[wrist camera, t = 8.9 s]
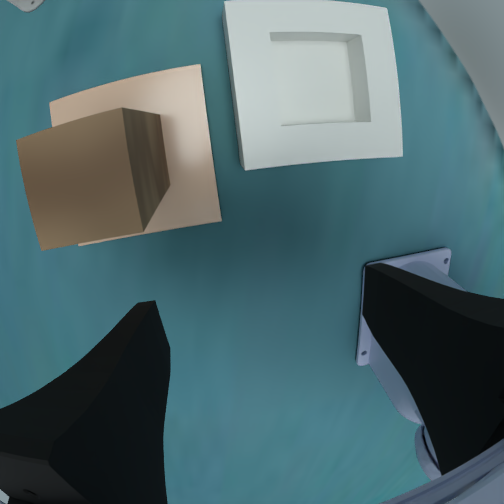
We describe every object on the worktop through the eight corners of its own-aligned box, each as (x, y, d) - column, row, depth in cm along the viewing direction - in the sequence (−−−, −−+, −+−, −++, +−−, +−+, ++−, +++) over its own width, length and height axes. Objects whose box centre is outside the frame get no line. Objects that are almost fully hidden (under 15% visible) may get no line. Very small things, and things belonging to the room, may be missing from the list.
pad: (221, 218, 19) (221, 221, 18) (82, 242, 18) (78, 246, 18) (200, 65, 15) (200, 64, 15) (53, 102, 15) (49, 102, 14)
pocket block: (381, 151, 19) (402, 156, 16) (240, 164, 18) (245, 170, 16) (367, 18, 15) (386, 8, 13) (222, 16, 14) (224, 1, 12)
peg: (170, 185, 17) (143, 232, 10) (104, 197, 17) (41, 250, 10) (160, 114, 16) (121, 107, 8) (91, 130, 15) (16, 140, 8)
